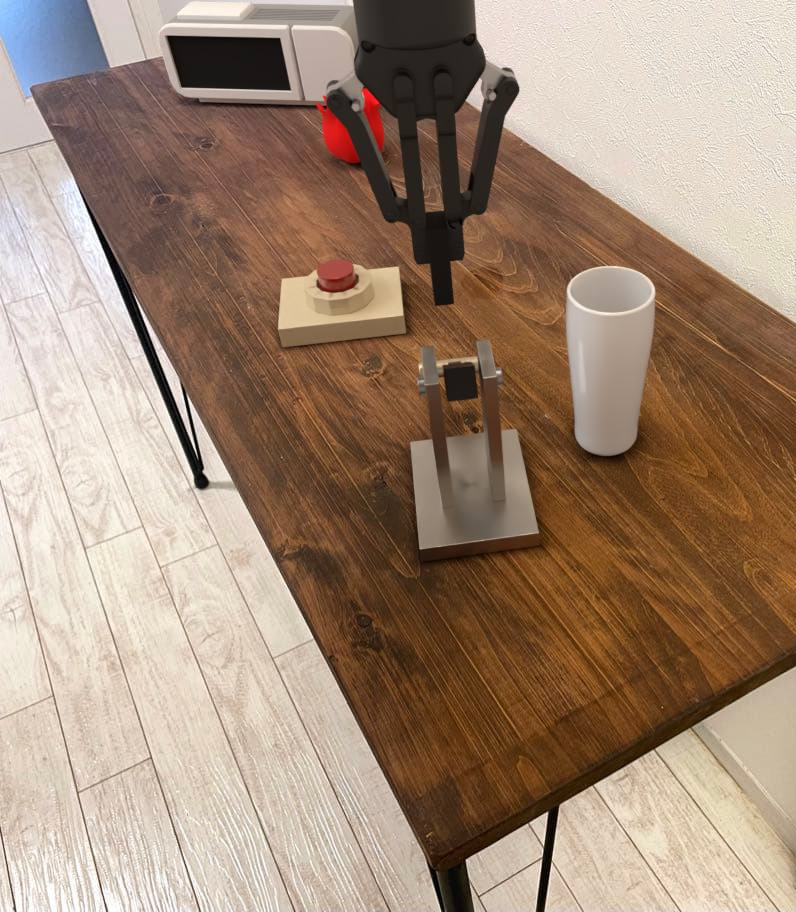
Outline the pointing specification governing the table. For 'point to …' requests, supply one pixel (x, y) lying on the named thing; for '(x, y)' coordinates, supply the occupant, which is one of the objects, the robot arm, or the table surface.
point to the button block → (341, 308)
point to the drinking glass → (608, 354)
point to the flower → (339, 136)
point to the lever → (458, 377)
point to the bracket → (470, 475)
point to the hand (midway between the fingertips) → (443, 295)
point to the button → (336, 276)
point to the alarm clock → (258, 51)
